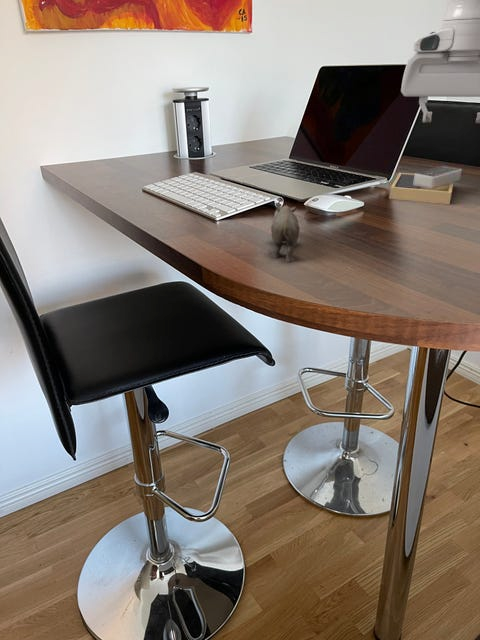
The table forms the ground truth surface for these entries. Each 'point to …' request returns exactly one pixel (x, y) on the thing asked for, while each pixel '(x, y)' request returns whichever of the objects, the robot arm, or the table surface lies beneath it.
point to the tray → (421, 192)
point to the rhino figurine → (285, 231)
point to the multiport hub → (437, 177)
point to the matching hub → (407, 182)
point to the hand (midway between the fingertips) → (452, 122)
